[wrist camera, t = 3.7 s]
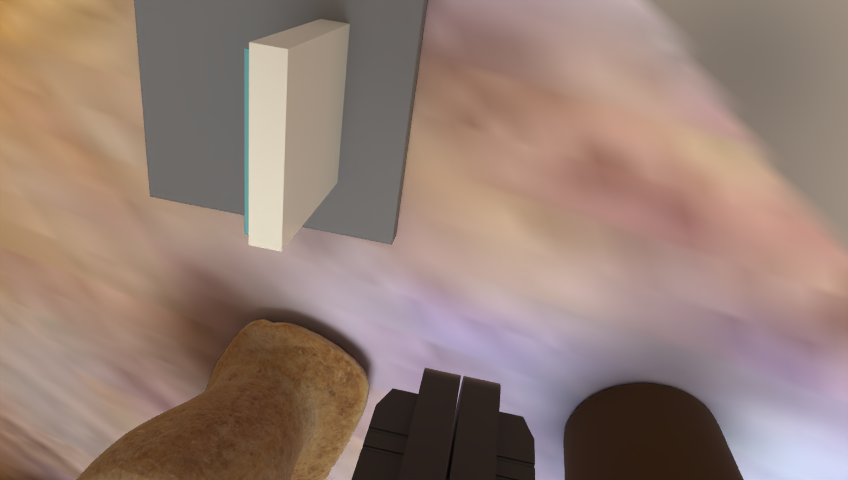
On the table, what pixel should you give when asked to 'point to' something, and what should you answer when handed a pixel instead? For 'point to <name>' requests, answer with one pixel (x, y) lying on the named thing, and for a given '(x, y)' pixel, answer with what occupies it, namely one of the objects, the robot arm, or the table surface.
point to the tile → (292, 127)
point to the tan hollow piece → (251, 415)
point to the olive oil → (646, 437)
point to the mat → (225, 112)
